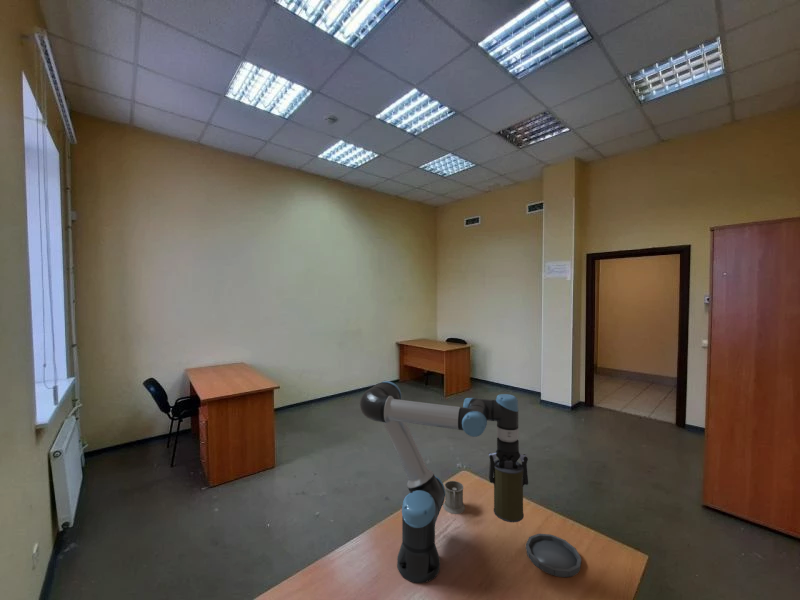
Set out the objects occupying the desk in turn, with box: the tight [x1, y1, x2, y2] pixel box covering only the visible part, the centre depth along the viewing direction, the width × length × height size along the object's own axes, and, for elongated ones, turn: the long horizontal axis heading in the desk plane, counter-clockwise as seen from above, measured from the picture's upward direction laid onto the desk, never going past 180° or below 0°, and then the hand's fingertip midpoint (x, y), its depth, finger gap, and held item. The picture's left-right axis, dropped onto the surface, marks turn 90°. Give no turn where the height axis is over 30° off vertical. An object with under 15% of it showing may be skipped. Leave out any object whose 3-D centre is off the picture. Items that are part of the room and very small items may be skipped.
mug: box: [442, 480, 466, 515], centre depth 149 cm, size 14×10×12 cm
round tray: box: [525, 533, 582, 578], centre depth 122 cm, size 18×18×2 cm
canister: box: [493, 458, 525, 523], centre depth 120 cm, size 11×10×20 cm
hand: (508, 501), depth 120 cm, fingers open, 6 cm apart
